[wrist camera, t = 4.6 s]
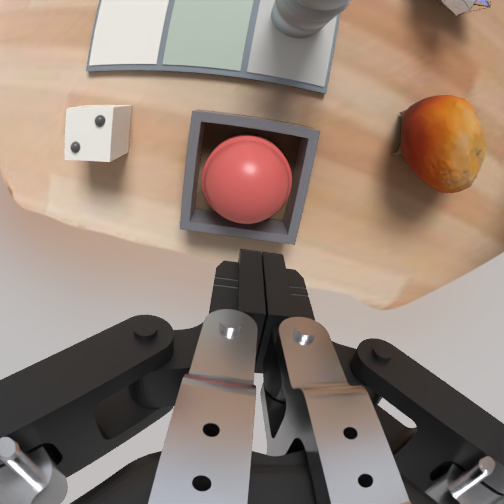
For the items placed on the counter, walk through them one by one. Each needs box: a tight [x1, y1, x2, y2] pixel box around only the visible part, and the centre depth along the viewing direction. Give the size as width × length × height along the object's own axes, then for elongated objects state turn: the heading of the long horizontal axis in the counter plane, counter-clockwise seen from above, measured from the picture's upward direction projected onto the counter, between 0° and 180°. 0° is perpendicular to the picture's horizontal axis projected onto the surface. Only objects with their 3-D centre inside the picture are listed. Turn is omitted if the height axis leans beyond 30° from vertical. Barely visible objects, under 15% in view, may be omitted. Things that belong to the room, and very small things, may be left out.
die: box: [65, 105, 132, 162], centre depth 21 cm, size 4×4×4 cm
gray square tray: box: [180, 110, 320, 245], centre depth 24 cm, size 9×9×3 cm
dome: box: [202, 134, 292, 224], centre depth 22 cm, size 6×6×6 cm
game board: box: [86, 0, 340, 94], centre depth 18 cm, size 20×12×1 cm, turn 81°
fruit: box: [392, 95, 485, 193], centre depth 21 cm, size 8×8×8 cm
